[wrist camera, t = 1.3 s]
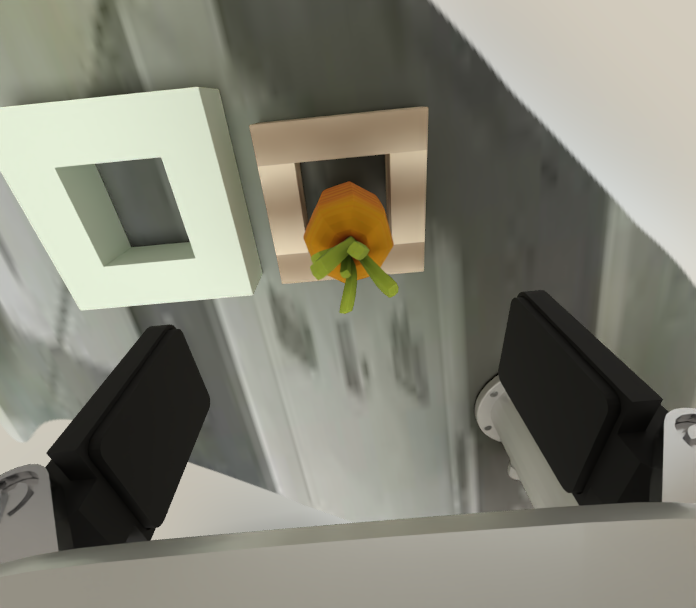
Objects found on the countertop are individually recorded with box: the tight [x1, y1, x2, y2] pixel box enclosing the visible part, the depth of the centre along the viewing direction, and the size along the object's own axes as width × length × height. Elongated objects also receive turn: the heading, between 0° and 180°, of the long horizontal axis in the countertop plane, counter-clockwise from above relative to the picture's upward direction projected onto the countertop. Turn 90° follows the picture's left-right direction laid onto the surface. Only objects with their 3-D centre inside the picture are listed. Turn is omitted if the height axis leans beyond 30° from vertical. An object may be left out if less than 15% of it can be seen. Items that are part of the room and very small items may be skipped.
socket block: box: [249, 107, 428, 284], centre depth 26 cm, size 12×12×3 cm
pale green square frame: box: [0, 87, 263, 310], centre depth 25 cm, size 14×14×4 cm
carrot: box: [303, 181, 398, 314], centre depth 21 cm, size 5×5×15 cm
